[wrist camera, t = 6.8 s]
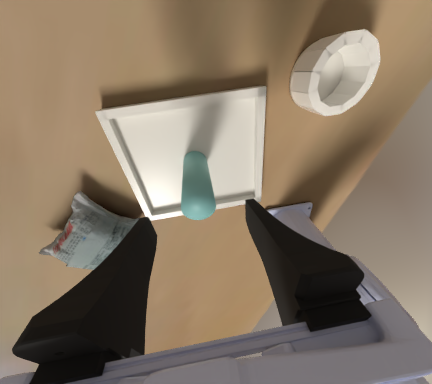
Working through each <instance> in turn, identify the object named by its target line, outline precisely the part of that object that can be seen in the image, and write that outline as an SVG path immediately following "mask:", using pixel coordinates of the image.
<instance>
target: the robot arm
mask: <svg viewBox="0 0 432 384" xmlns="http://www.w3.org/2000/svg"><path fill="white" fill-rule="evenodd" d="M312 206H313V204H312V203H311V202H307V203H302V204H296V205H290V206H285V207H279V208H273V209H268V210H266V209H265V208H263V207H262V206H261V205H260V204H259V203H258V202H257V201H256V200H255V199H254V198H253V199H247V200H245V209H246V222H247V226H248V229H249V232H250V234H251V236H252V239H253V241H254V243H255V245H256V247H257V250H258V252H259V254H260V256H261V259H262V261H263V264H264V267H265V270H266V273H267V276H268V279H269V282H270V285H271V288H272V291H273V294H274V298H275V301H276V304H277V308H278V311H279V314H280V318H281V321H282V325H283V326H282V327H277V328H272V329H268V330H262V331H258V332H253V333H248V334H243V335H238V336H233V337H228V338H223V339H219V340H214V341H209V342H204V343H199V344H194V345H190V346H185V347H180V348H175V349H170V350H165V351H160V352H156V353H151V354H146V355H144V351H145V325H146V309H147V298H148V288H149V281H150V276H151V271H152V266H153V262H154V257H155V252H156V245H157V234H156V232H155V230H154V228H153V226H152V224H151V221H150V219H149V217H143V218H139V220H138V221H137V222H136V223H135V225H134V226H133V227H132V228H131V230H130V231H129V232H128V233H127V235H126V236H125V237H124V238H123V240H122V241H121V242H120V243H119V244H118V245H117V247H116V248H115V249H114V250H113V251H112V252H111V253H110V254H109V255H108V256H107V257H106V259H105V260H104V261H103V262H101V263H100V264H99V265H98V266H97V267H96V268H95V269H94V270H93V271H92V272H91V273H90V274H88V275H87V276H86V277H85V278H84V279H83V280H82V281H80V282H79V283H78V284H77V285H76V286H74V287H73V288H72V289H71V290H69V291H68V292H67V293H65V294H64V295H63V296H61V297H60V298H59V299H57V300H56V301H55V302H53V303H52V304H50V305H49V306H48V307H46V308H45V309H43V310H42V311H40V312H39V313H38V314H36V315H35V316H33V317H32V319H31V320H30V322H29V323H28V325H27V326H26V328H25V330H24V331H23V333H22V334H21V336H20V337H19V339H18V340H17V342H16V344H15V345H14V347H13V348H12V352H13V354H14V355H15V356H17V357H20V358H22V359H26V360H29V361H32V362H35V363H38V364H39V366H38V368H37V370H36V372H28V373H22V374H17V375H12V376H7V377H3V378H2V379H0V384H429V383H428V382H427V381H426V379H425V378H424V377H423V376H426V375H429V374H432V342H431V341H430V340H429V339H428V338H427V337H426V336H425V335H424V334H423V332H422V331H421V330H420V329H419V327H418V325H417V323H416V322H415V321H414V319H413V318H412V317H411V316H410V315H409V314H408V312H407V311H406V310H405V309H404V308H403V307H402V306H401V304H400V303H399V302H398V301H397V299H396V298H395V297H394V296H393V295H392V293H391V292H390V291H389V290H388V289H387V288H386V287H385V286H384V285H383V283H382V282H381V281H380V280H379V279H378V278H377V277H376V276H375V275H374V274H373V273H372V272H371V271H370V270H369V269H368V268H367V267H366V266H365V265H364V264H363V263H362V262H361V261H359V259H357V258H356V257H354V256H349V255H345V254H343V253H340V252H337V251H336V250H335V249H334V247H333V246H332V245H331V244H330V243H329V241H328V240H327V239H326V238H325V237H324V235H323V234H322V233H321V232H320V231H319V229H318V228H317V227H316V226H315V225H314V223H313V222H312V221H311V220H310V219H309V217H310V213H311V210H312ZM260 352H262V356H259V357H250V358H242V359H235V358H236V357H241V356H246V355H250V354H255V353H260Z"/></svg>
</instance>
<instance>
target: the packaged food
mask: <svg viewBox="0 0 432 384" xmlns="http://www.w3.org/2000/svg"><path fill="white" fill-rule="evenodd" d="M71 207H72V209H73V213H72V215H71V216H70V218H69V219H68V222H67V223H66V225H65V228H64V230H63V232H62V233H60V234H59V235H58V236H57V237H56V239H55V240H54V242H52V243H51V244H49V245H48V246H46V247H44V248H43V249H41V251H40V252H39V253H40V254H43V255H51V256H54V257H56V258H57V259H59V260H61V261H63V262H65V263H67V265H66V266H67V267H75V268H83V269H92V270H94V269H95V268H96V267H97V266H98V265H99V264H100V263H101V262H103V261H104V260H105V259H106V257H107V256H108V255H109V254H110V253H111V252H112V251H113V250H114V249H115V248H116V247H117V245H118V244H119V243H120V242H121V241H122V240H123V238H124V237H125V236H126V235H127V233H128V232H129V231H130V230H131V228H132V227H133V226H134V225H135V223H136V222H137V221H138V220H139V218H137V219H131V218H127V217H123V216H119V215H116V214H114V213H112V212H109V211H108V210H106V209H104V208H103V207H101V206H99V205H98V204H96V203H95V202H93V201H92V200H90V199H89V198H88V196H86V195H85V194H84V193H82V191H79V192H77V193H76V194H75V196H74V197H73V201H72V205H71ZM45 251H46V252H45Z"/></svg>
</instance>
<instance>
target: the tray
mask: <svg viewBox="0 0 432 384" xmlns="http://www.w3.org/2000/svg"><path fill="white" fill-rule="evenodd" d="M265 105H266V86H261V85H260V86H254V87H247V88H240V89H233V90H226V91H219V92H213V93H206V94H199V95H192V96H185V97H179V98H172V99H165V100H158V101H151V102H145V103H138V104H131V105H124V106H117V107H111V108H104V109H100V110H97V111H95V113H96V115H97V117H98V119H99V121H100V123H101V125H102V127H103V129H104V132H105V134H106V136H107V138H108V140H109V142H110V144H111V146H112V148H113V150H114V152H115V154H116V156H117V158H118V160H119V163H120V165H121V167H122V169H123V171H124V173H125V175H126V177H127V179H128V181H129V183H130V185H131V187H132V189H133V191H134V193H135V196H136V198H137V200H138V202H139V204H140V206H141V208H142V210H143V212H144V214H145V216H146V217H149V219H150V221H152V220H158V219H163V218H169V217H175V216H180V215H184V214H183V213H182V211H181V193H182V177H183V160H184V157H185V155H186V154H187V153H189V152H191V151H199V152H201V153H203V154H204V155H205V157H206V159H207V164H208V168H209V173H210V178H211V183H212V187H213V192H214V197H215V202H216V209H220V208H226V207H232V206H237V205H243V204H245V200H247V199H253V198H254V199H255V200H256V201H257V202H260V201H261V189H262V168H263V147H264V126H265Z"/></svg>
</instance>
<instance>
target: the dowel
mask: <svg viewBox="0 0 432 384" xmlns="http://www.w3.org/2000/svg"><path fill="white" fill-rule="evenodd" d="M215 209H216V202H215V197H214V192H213V187H212V183H211V178H210V173H209V168H208V164H207V159H206V157H205V155H204V154H203V153H201V152H199V151H191V152H189V153H187V154H186V155H185V157H184V160H183V177H182V193H181V211H182V213H183V214H184V215H185V216H186V217H188V218H190V219H193V220H202V219H206V218H208V217H209V216H211V215H212V214H213V213H214V211H215Z"/></svg>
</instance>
